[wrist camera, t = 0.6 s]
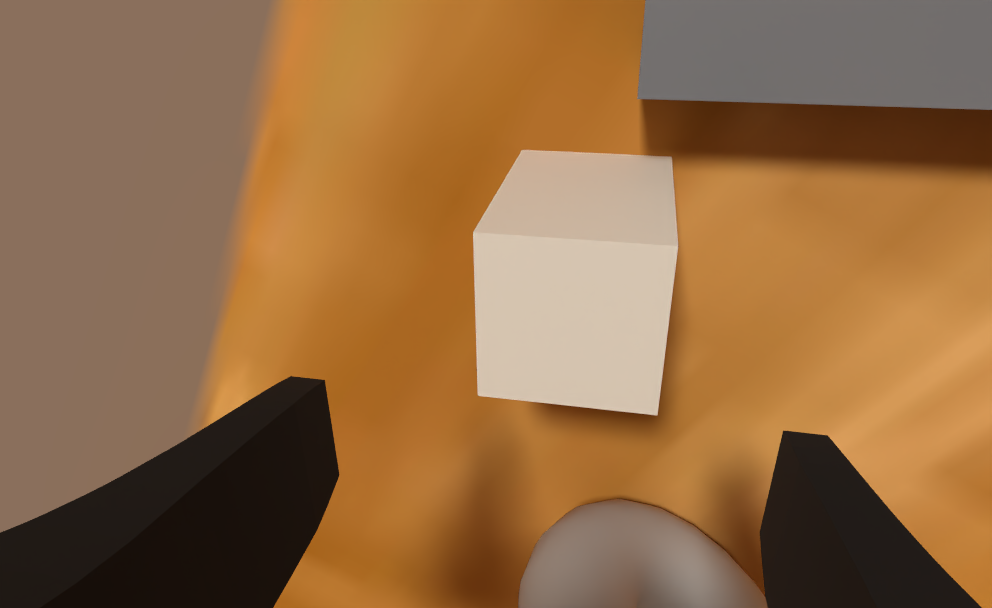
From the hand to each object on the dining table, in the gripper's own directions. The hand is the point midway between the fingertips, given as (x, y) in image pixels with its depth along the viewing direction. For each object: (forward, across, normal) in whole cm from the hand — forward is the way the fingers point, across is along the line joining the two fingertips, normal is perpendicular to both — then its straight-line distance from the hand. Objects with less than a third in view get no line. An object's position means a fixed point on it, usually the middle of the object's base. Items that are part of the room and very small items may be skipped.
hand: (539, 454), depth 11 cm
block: (+10, 0, 0) cm, 10 cm away
